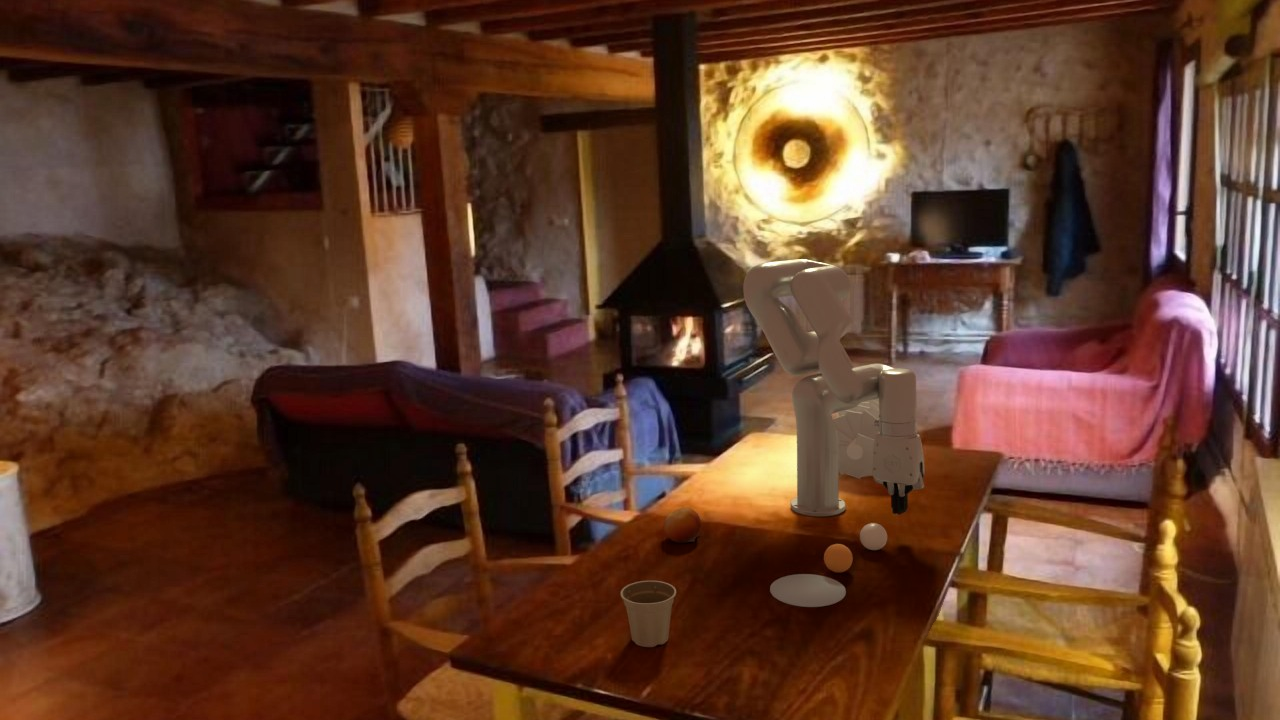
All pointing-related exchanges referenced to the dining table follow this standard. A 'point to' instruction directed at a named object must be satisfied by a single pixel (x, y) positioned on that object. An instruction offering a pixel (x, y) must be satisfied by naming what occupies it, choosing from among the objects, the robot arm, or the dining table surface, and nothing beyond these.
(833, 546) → the orange ball
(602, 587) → the dining table surface
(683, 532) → the fruit
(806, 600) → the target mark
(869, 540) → the cue ball
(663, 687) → the dining table surface
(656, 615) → the flower pot
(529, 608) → the dining table surface
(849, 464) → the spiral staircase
